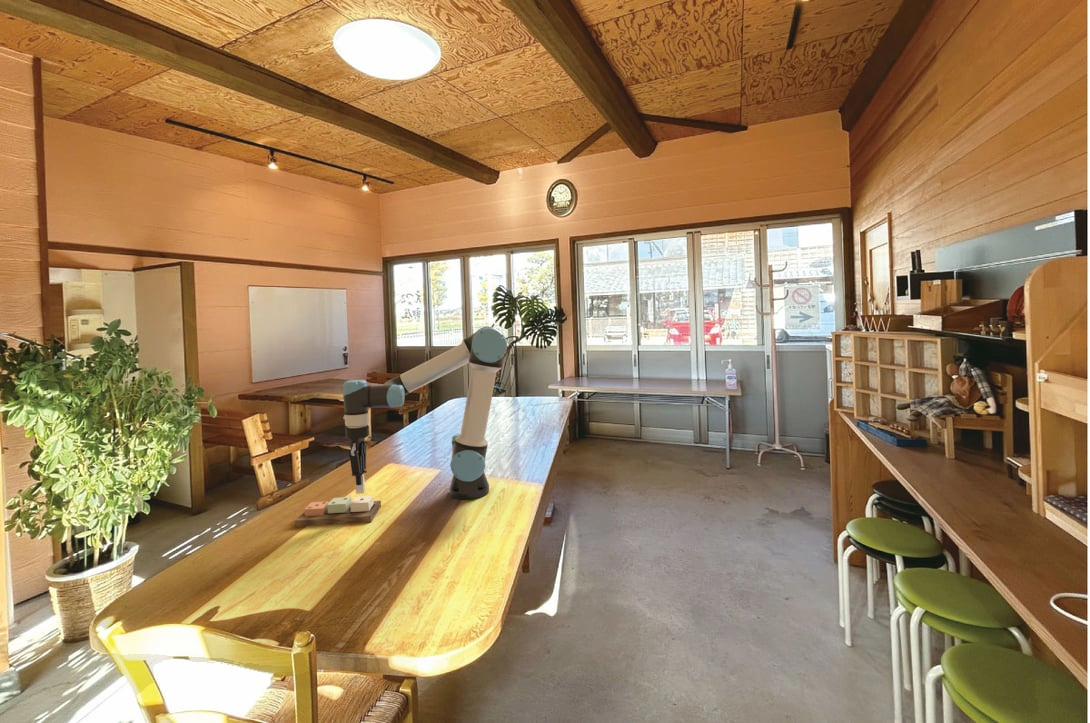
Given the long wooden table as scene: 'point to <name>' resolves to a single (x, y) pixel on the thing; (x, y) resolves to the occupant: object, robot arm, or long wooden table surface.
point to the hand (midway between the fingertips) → (360, 492)
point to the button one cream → (361, 503)
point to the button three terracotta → (316, 508)
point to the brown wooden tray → (339, 517)
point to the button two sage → (339, 505)
